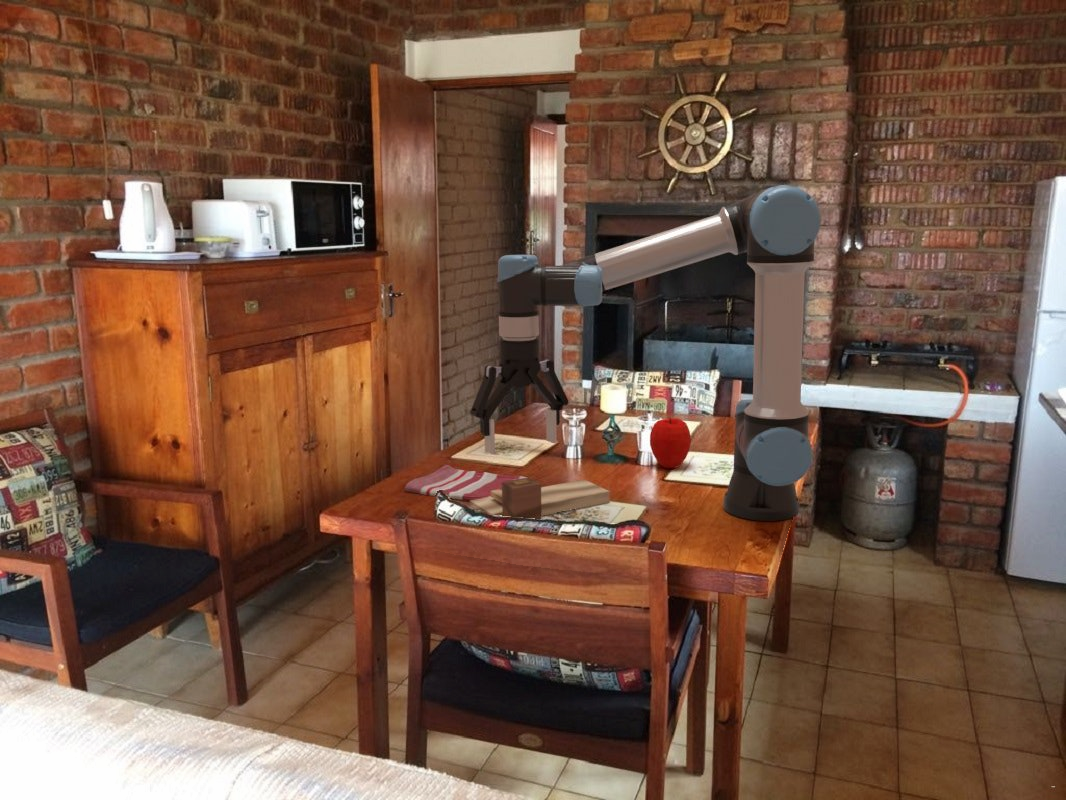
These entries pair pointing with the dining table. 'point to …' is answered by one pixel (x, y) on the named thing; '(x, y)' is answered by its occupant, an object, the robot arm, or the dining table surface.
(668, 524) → the dining table surface
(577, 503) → the board
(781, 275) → the robot arm
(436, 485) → the dish towel
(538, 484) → the brown wooden block
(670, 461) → the apple
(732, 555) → the dining table surface
